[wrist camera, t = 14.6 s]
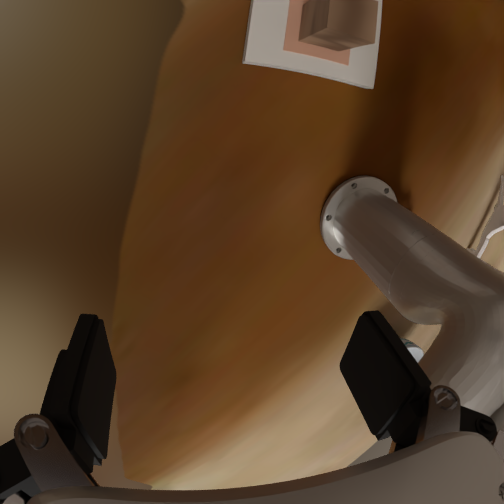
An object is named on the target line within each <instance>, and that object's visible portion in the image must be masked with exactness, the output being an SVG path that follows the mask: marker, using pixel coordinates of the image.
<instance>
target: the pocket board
mask: <svg viewBox="0 0 504 504" xmlns="http://www.w3.org/2000/svg"><path fill="white" fill-rule="evenodd" d="M307 1H309V0H251V5H250V12H249V19H248V25H247V32H246V39H245V47H244V54H243V61H242V63H245V64H253V65H260V66H267V67H273V68H279V69H285V70H290V71H296V72H301V73H306V74H310V75H315V76H319V77H324V78H328V79H332V80H336V81H340V82H344V83H347V84H351V85H354V86H358V87H361V88H365V89H373V88H374V81H375V73H376V66H377V57H378V48H379V38H380V27H381V14H382V0H376V1H378V13H377V26H376V37H375V43H374V44H369V45H365V46H360V47H355V48H351V49H347V50H343V51H339V52H338V51H335V50H331V49H328V48H324V47H320V46H316V45H312V44H307V43H303V42H299V41H298V39H299V31H300V23H301V15H302V7H303V4H305V3H306V2H307Z"/></svg>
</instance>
